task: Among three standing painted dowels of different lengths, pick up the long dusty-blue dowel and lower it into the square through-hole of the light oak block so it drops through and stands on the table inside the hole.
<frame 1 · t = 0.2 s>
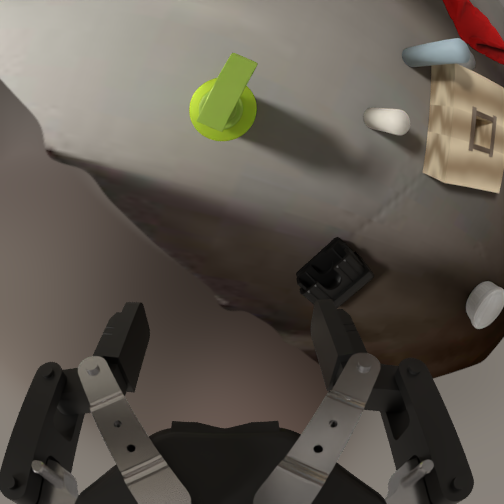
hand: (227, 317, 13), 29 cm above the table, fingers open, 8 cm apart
cloth: (472, 24, 27), on the table
soap dispenser: (229, 106, 35), on the table
medium pin: (373, 118, 36), on the table
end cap: (328, 267, 47), on the table
ramekin: (478, 296, 53), on the table
hole block: (459, 126, 36), on the table
short pin: (449, 61, 31), on the table
long pin: (410, 57, 31), on the table
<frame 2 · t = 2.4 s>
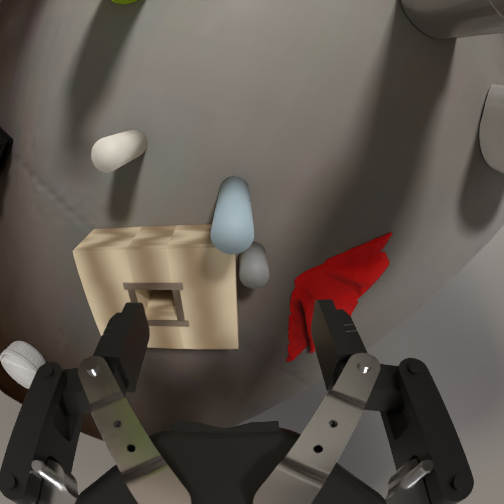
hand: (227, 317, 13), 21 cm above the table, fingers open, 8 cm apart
cloth: (330, 297, 41), on the table
medium pin: (133, 143, 29), on the table
toilet tissue: (496, 133, 29), on the table
ramekin: (30, 355, 45), on the table
hole block: (166, 276, 37), on the table
short pin: (252, 254, 36), on the table
long pin: (234, 190, 32), on the table
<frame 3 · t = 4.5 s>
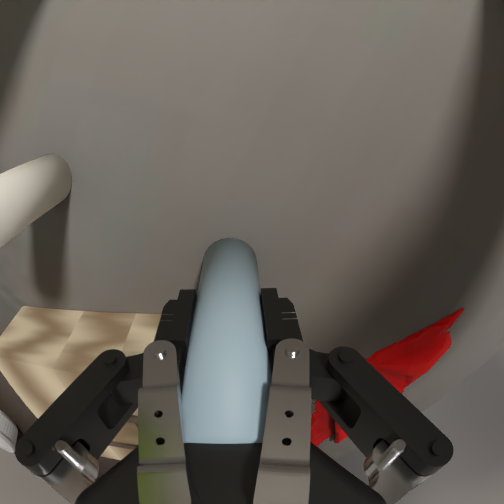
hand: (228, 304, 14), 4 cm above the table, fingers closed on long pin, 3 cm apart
cloth: (368, 387, 27), on the table
medium pin: (51, 179, 15), on the table
hole block: (132, 374, 23), on the table
long pin: (229, 262, 18), on the table, touching gripper
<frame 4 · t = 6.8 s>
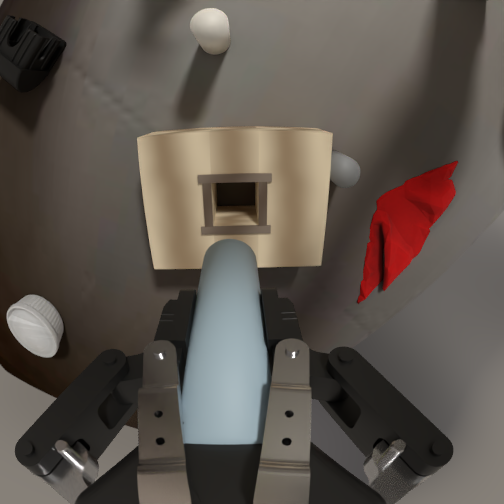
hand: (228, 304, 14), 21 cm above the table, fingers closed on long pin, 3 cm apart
cloth: (404, 225, 37), on the table
medium pin: (215, 41, 25), on the table
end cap: (35, 53, 23), on the table
ramekin: (43, 314, 42), on the table
hole block: (235, 187, 33), on the table
short pin: (331, 163, 32), on the table
long pin: (229, 262, 18), point 17 cm above the table, touching gripper
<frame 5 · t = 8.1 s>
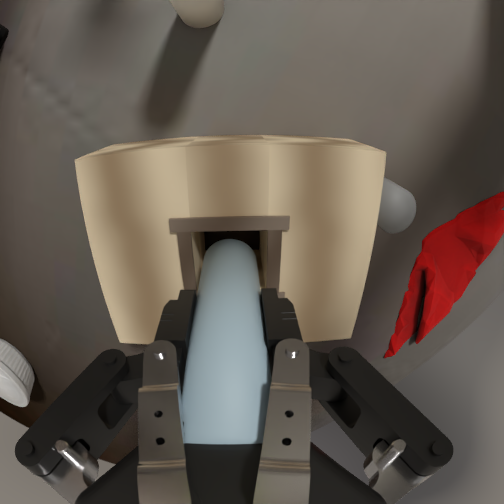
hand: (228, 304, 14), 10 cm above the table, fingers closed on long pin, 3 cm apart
cloth: (447, 267, 27), on the table
medium pin: (201, 9, 15), on the table
ramekin: (12, 358, 31), on the table
hole block: (231, 225, 23), on the table
short pin: (368, 190, 22), on the table
long pin: (230, 263, 18), point 6 cm above the table, touching gripper
when the fingers open (7 cm above the table, at t = 8.9 s): long pin drops 3 cm, resting in hole block.
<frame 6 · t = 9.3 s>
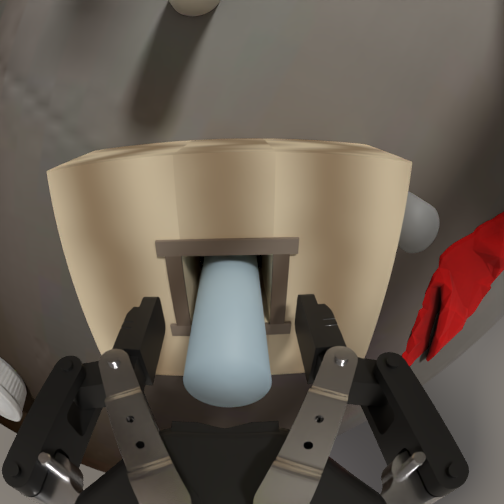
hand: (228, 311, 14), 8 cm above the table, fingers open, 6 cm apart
cloth: (462, 282, 25), on the table
ramekin: (3, 371, 28), on the table
hole block: (230, 241, 21), on the table
short pin: (383, 201, 20), on the table
long pin: (231, 241, 21), resting in hole block
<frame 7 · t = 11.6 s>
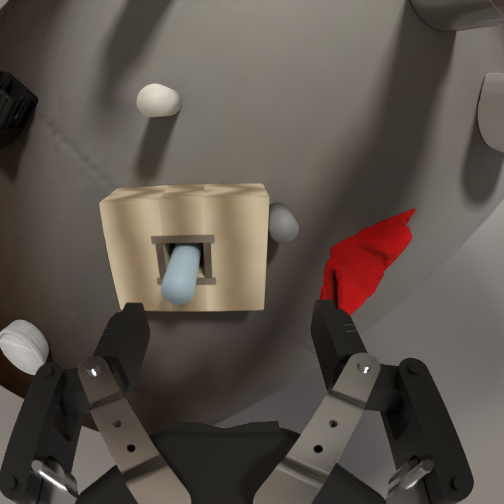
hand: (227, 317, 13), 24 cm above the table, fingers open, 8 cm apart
cloth: (358, 269, 43), on the table
medium pin: (168, 102, 30), on the table
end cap: (11, 105, 26), on the table
toilet tissue: (492, 116, 32), on the table
ramekin: (31, 336, 44), on the table
hole block: (190, 238, 37), on the table
short pin: (277, 214, 37), on the table
long pin: (190, 238, 37), resting in hole block
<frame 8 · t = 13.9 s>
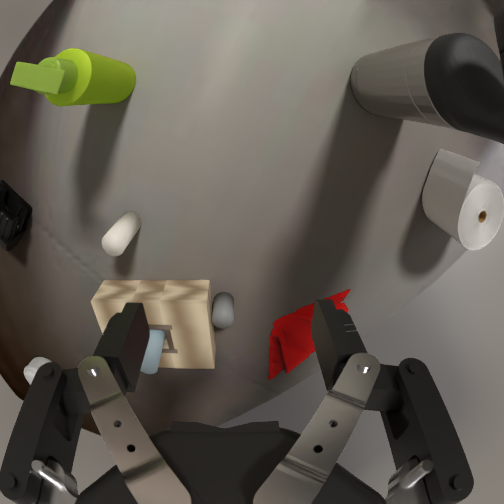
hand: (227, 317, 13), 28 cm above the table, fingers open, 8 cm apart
cloth: (301, 333, 53), on the table
soap dispenser: (119, 83, 31), on the table
medium pin: (131, 221, 40), on the table
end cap: (12, 208, 38), on the table
toilet tissue: (442, 191, 40), on the table
ramekin: (49, 368, 56), on the table
hole block: (160, 314, 48), on the table
short pin: (223, 300, 47), on the table
long pin: (161, 314, 48), resting in hole block
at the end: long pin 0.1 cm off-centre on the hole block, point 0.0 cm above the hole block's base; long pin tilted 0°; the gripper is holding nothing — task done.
